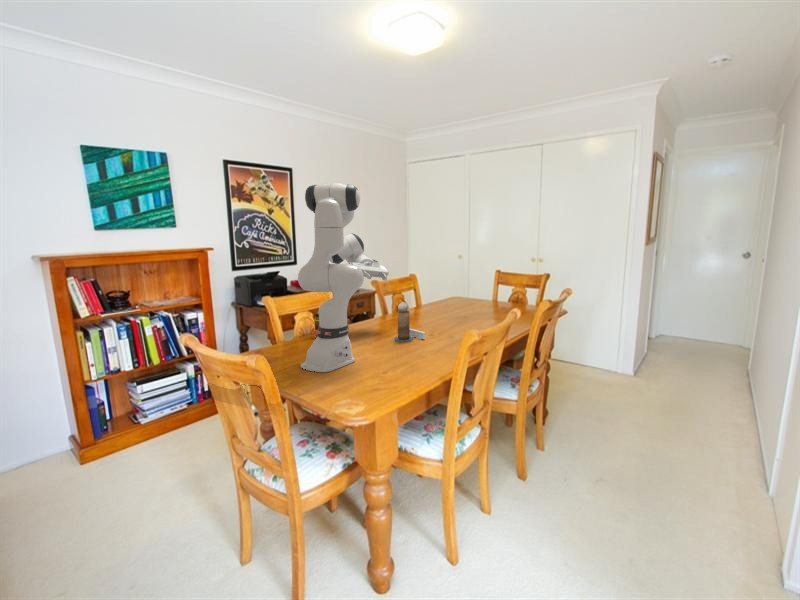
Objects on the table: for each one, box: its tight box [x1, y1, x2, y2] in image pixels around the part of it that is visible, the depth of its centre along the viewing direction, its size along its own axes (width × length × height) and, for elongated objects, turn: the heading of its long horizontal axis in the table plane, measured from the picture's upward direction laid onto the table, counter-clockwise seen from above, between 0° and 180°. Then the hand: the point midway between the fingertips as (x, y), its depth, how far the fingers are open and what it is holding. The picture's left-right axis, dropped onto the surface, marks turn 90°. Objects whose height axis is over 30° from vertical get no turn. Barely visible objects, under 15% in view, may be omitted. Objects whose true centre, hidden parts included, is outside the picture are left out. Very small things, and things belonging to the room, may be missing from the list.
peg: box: [397, 301, 411, 340], centre depth 187 cm, size 6×6×18 cm
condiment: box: [314, 312, 320, 338], centre depth 195 cm, size 7×8×12 cm
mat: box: [393, 336, 414, 343], centre depth 189 cm, size 9×9×1 cm
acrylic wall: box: [410, 328, 426, 340], centre depth 193 cm, size 14×1×4 cm, turn 42°
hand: (378, 278), depth 189 cm, fingers open, 8 cm apart
